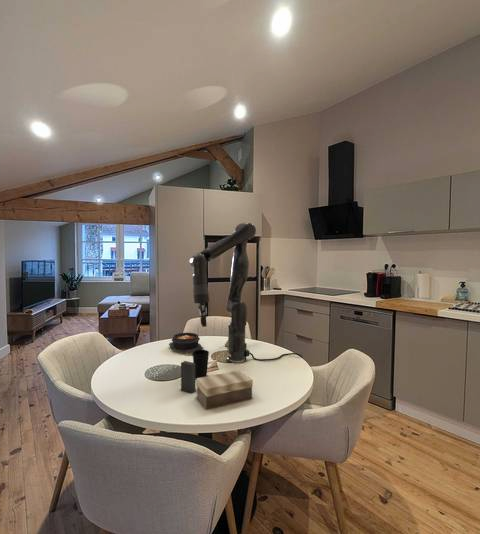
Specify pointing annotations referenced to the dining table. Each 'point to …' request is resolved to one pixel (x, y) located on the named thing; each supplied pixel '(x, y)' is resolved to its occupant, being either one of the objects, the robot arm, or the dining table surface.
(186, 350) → the casserole
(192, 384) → the dark grey rectangular block
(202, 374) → the cup
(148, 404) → the dining table surface
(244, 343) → the robot arm
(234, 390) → the lidded shoe box
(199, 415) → the dining table surface
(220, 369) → the dining table surface
